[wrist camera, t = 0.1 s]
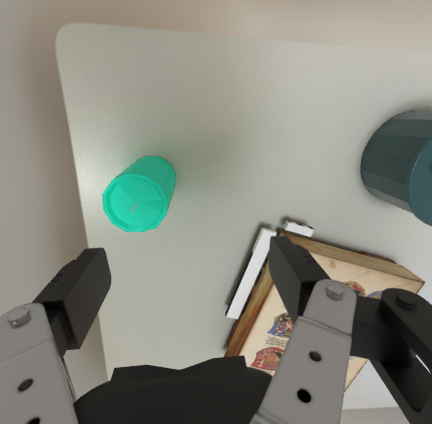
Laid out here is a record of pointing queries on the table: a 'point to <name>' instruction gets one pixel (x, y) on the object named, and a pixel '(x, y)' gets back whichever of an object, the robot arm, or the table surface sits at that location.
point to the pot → (394, 155)
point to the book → (274, 308)
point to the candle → (140, 195)
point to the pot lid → (421, 183)
